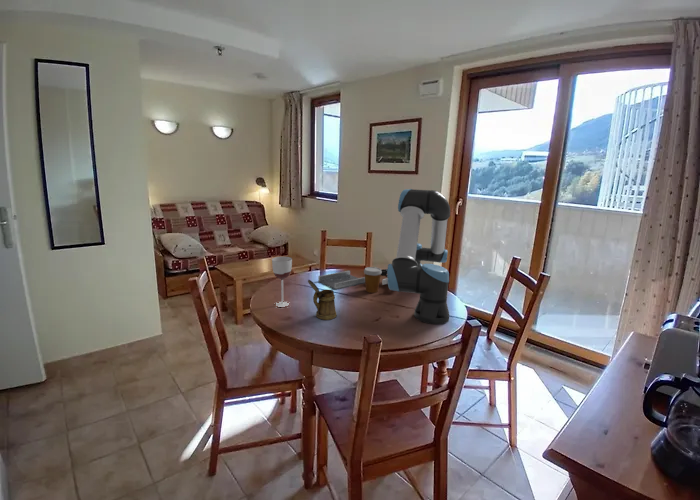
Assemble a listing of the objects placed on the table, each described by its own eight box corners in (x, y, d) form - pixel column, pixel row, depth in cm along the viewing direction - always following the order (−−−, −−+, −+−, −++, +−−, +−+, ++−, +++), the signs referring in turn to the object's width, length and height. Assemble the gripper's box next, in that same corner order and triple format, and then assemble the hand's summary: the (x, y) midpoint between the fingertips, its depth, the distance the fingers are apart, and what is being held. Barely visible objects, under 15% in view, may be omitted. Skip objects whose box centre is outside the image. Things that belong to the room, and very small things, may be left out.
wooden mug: (303, 316, 157) (303, 276, 153) (329, 310, 164) (330, 272, 160) (312, 324, 150) (313, 282, 146) (340, 317, 157) (341, 277, 153)
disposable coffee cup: (381, 294, 187) (382, 272, 185) (363, 293, 188) (363, 271, 185) (380, 288, 197) (381, 267, 194) (362, 287, 197) (363, 266, 194)
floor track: (348, 275, 218) (349, 270, 217) (366, 282, 205) (367, 277, 205) (318, 281, 204) (318, 276, 203) (335, 289, 192) (335, 284, 191)
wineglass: (269, 307, 166) (268, 260, 161) (278, 300, 175) (277, 255, 170) (287, 309, 164) (286, 262, 159) (295, 302, 173) (295, 257, 168)
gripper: (417, 284, 196) (389, 292, 183) (385, 273, 215) (358, 279, 202) (419, 271, 195) (390, 277, 182) (386, 261, 214) (359, 266, 201)
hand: (373, 278), depth 192 cm, fingers open, 13 cm apart
